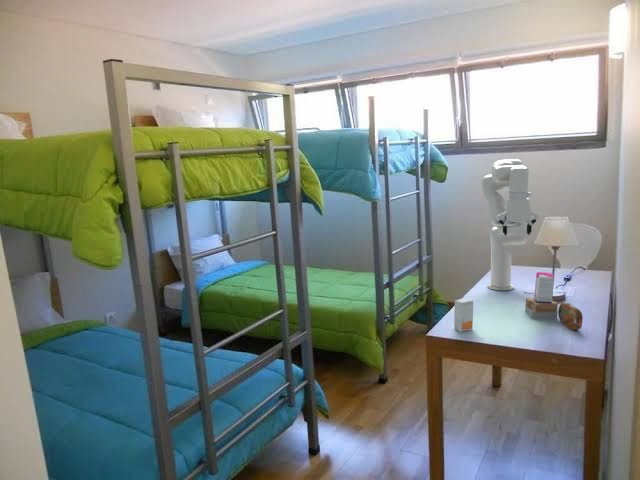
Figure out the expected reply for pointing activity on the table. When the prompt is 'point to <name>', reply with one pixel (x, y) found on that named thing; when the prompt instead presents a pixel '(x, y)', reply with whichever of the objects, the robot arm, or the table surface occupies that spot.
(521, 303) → the table surface
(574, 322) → the tin
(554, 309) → the tower top
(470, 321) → the skincare box
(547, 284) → the supplement box
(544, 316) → the tower base
